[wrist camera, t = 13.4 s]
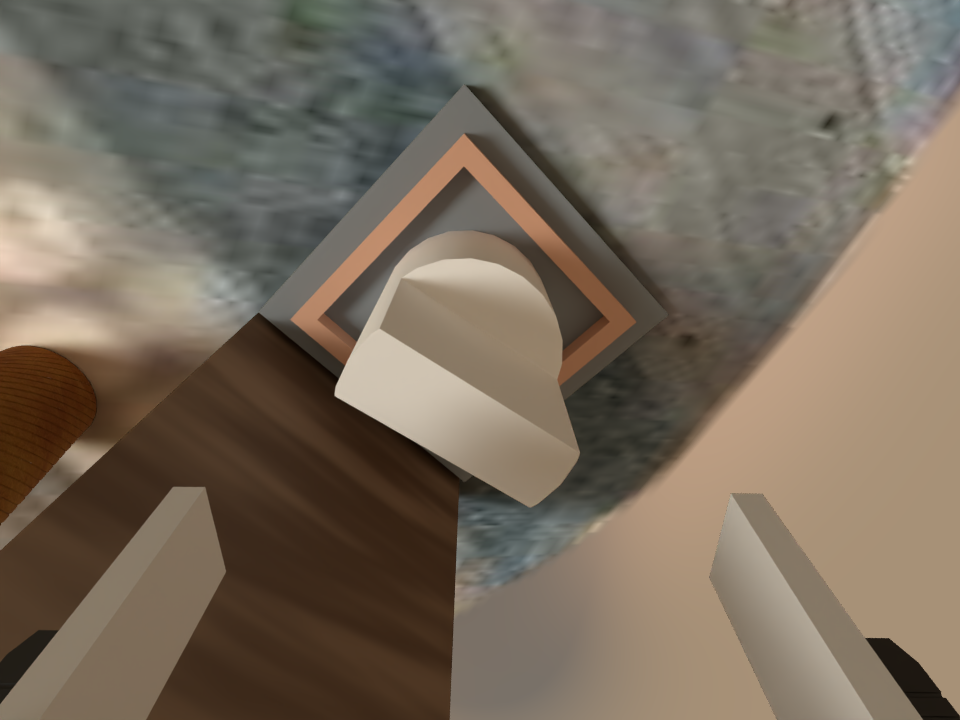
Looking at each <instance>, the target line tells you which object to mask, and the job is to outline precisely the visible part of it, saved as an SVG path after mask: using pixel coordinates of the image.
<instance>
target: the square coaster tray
mask: <svg viewBox="0 0 960 720" xmlns="http://www.w3.org/2000/svg"><path fill="white" fill-rule="evenodd" d="M468 230H473V231H477V232H482V233H486V234H491V235H495V236H497V237H498V238H500V239H502V240H504V241H506V242H508V243H510V244H512V245H514V246H515V247H516V248H517V249H518V250H519V251H520V252H521V253H522V254H523V255H524V256H525V257H527V258H528V259H529V260H530V262H531V263H532V265H533V267H534V268H535V270H536V272H537V273H538V275H539V276H540V278H541V280H542V283H543V285H544V288H545V290H546V293H547V295H548V298H549V300H550V303H551V305H552V308H553V310H554V312H555V315H556V318H557V322H558V325H559V329H560V333H561V336H562V340H563V343H562V366H561V369H560V372H559V375H558V379H557V381H558V384H559V387H560V390H561V393H562V397H563V400H566V399H567V398H568V397H569V396H571V395H572V394H573V393H574V392H575V391H577V390H578V389H579V388H580V387H582V386H583V385H584V384H585V383H586V382H588V381H589V380H590V379H591V378H593V377H594V376H595V375H596V374H597V373H599V372H600V371H601V370H602V369H603V368H605V367H606V366H607V365H608V364H610V363H611V362H612V361H613V360H614V359H616V358H617V357H618V356H619V355H621V354H622V353H623V352H624V351H625V350H627V349H628V348H629V347H630V346H632V345H633V344H634V343H635V342H636V341H638V340H639V339H640V338H641V337H643V336H644V335H645V334H646V333H647V332H649V331H650V330H651V329H652V328H654V327H655V326H656V325H657V324H658V323H660V322H661V321H662V320H663V319H665V318H666V317H667V316H668V315H669V314H668V313H667V312H666V311H665V310H664V309H663V308H662V307H661V305H660V304H659V303H658V302H657V301H656V300H655V299H654V298H653V296H652V295H651V294H650V293H649V292H648V291H647V290H646V289H645V287H644V286H643V285H642V284H641V283H640V282H639V281H638V279H637V278H636V277H635V276H634V275H633V274H632V273H631V272H630V270H629V269H628V268H627V267H626V266H625V265H624V264H623V263H622V261H621V260H620V259H619V258H618V257H617V256H616V255H615V254H614V252H613V251H612V250H611V249H610V248H609V247H608V246H607V244H606V243H605V242H604V241H603V240H602V239H601V238H600V237H599V235H598V234H597V233H596V232H595V231H594V230H593V229H592V228H591V226H590V225H589V224H588V223H587V222H586V221H585V220H584V219H583V217H582V216H581V215H580V214H579V213H578V212H577V211H576V209H575V208H574V207H573V206H572V205H571V204H570V203H569V202H568V200H567V199H566V198H565V197H564V196H563V195H562V194H561V193H560V191H559V190H558V189H557V188H556V187H555V186H554V185H553V184H552V182H551V181H550V180H549V179H548V178H547V177H546V176H545V174H544V173H543V172H542V171H541V170H540V169H539V168H538V167H537V165H536V164H535V163H534V162H533V161H532V160H531V159H530V158H529V156H528V155H527V154H526V153H525V152H524V151H523V150H522V149H521V147H520V146H519V145H518V144H517V143H516V142H515V141H514V140H513V138H512V137H511V136H510V135H509V134H508V133H507V132H506V130H505V129H504V128H503V127H502V126H501V125H500V124H499V123H498V121H497V120H496V119H495V118H494V117H493V116H492V115H491V114H490V112H489V111H488V110H487V109H486V108H485V107H484V106H483V105H482V103H481V102H480V101H479V100H478V99H477V98H476V97H475V95H474V94H473V93H472V92H471V91H470V90H469V89H468V88H467V86H466V85H465V84H464V85H463V86H462V87H461V88H460V90H459V91H458V92H457V93H456V94H455V95H454V96H453V97H452V98H451V100H450V101H449V102H448V103H447V104H446V105H445V106H444V107H443V108H442V109H441V111H440V112H439V113H438V114H437V115H436V116H435V117H434V118H433V119H432V120H431V122H430V123H429V124H428V125H427V126H426V127H425V128H424V129H423V130H422V132H421V133H420V134H419V135H418V136H417V137H416V138H415V139H414V140H413V141H412V143H411V144H410V145H409V146H408V147H407V148H406V149H405V150H404V151H403V152H402V154H401V155H400V156H399V157H398V158H397V159H396V160H395V161H394V162H393V164H392V165H391V166H390V167H389V168H388V169H387V170H386V171H385V172H384V173H383V175H382V176H381V177H380V178H379V179H378V180H377V181H376V182H375V183H374V185H373V186H372V187H371V188H370V189H369V190H368V191H367V192H366V193H365V194H364V196H363V197H362V198H361V199H360V200H359V201H358V202H357V203H356V204H355V205H354V207H353V208H352V209H351V210H350V211H349V212H348V213H347V214H346V215H345V217H344V218H343V219H342V220H341V221H340V222H339V223H338V224H337V225H336V226H335V228H334V229H333V230H332V231H331V232H330V233H329V234H328V235H327V236H326V238H325V239H324V240H323V241H322V242H321V243H320V244H319V245H318V246H317V247H316V249H315V250H314V251H313V252H312V253H311V254H310V255H309V256H308V257H307V258H306V260H305V261H304V262H303V263H302V264H301V265H300V266H299V267H298V268H297V270H296V271H295V272H294V273H293V274H292V275H291V276H290V277H289V278H288V279H287V281H286V282H285V283H284V284H283V285H282V286H281V287H280V288H279V289H278V290H277V292H276V293H275V294H274V295H273V296H272V297H271V298H270V299H269V300H268V302H267V303H266V304H265V305H264V306H263V307H262V308H261V309H260V310H259V311H258V312H259V313H260V314H261V315H263V316H264V317H265V318H266V319H267V320H269V321H270V322H271V323H272V324H273V325H275V326H276V327H277V328H278V329H279V330H281V331H282V332H283V333H284V334H286V335H287V336H288V337H289V338H290V339H292V340H293V341H294V342H295V343H296V344H298V345H299V346H300V347H301V348H302V349H304V350H305V351H306V352H307V353H309V354H310V355H311V356H312V357H313V358H315V359H316V360H317V361H318V362H319V363H321V364H322V365H323V366H324V367H325V368H327V369H328V370H329V371H330V372H332V373H333V374H334V375H335V376H336V377H338V378H340V376H341V374H342V372H343V370H344V367H345V365H346V363H347V361H348V359H349V357H350V355H351V353H352V351H353V349H354V347H355V345H356V343H357V341H358V339H359V337H360V335H361V333H362V331H363V329H364V327H365V325H366V323H367V321H368V319H369V317H370V315H371V313H372V311H373V310H374V308H375V306H376V304H377V302H378V300H379V298H380V296H381V294H382V292H383V290H384V288H385V286H386V284H387V282H388V280H389V278H390V276H391V274H392V272H393V270H394V268H395V266H396V265H397V264H398V263H399V262H400V261H401V259H402V258H403V257H404V256H405V255H406V254H407V252H408V251H409V250H411V249H412V248H414V247H415V246H417V245H418V244H420V243H421V242H423V241H424V240H426V239H427V238H430V237H433V236H436V235H439V234H443V233H446V232H449V231H468ZM420 446H421V445H420ZM421 447H422V448H424V449H425V450H426V451H427V452H428V453H430V454H431V455H432V456H433V457H434V458H436V459H437V460H438V461H439V462H441V463H442V464H443V465H444V466H445V467H447V468H448V469H449V470H450V471H451V472H453V473H454V474H455V475H456V476H457V477H459V478H460V479H461V480H462V481H464V482H466V481H467V480H468V479H469V478H470V477H472V476H473V475H472V474H470V473H468V472H467V471H465V470H463V469H461V468H460V467H458V466H456V465H454V464H453V463H451V462H449V461H447V460H446V459H444V458H442V457H440V456H439V455H437V454H435V453H433V452H432V451H430V450H428V449H426V448H425V447H423V446H421Z"/></svg>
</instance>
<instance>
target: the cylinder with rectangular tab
mask: <svg viewBox="0 0 960 720" xmlns="http://www.w3.org/2000/svg"><path fill="white" fill-rule="evenodd" d="M562 343H563V340H562V336H561V333H560V329H559V325H558V322H557V318H556V315H555V312H554V310H553V308H552V305H551V303H550V300H549V298H548V295H547V293H546V290H545V288H544V285H543V283H542V280H541V278H540V276H539V275H538V273H537V272H536V270H535V268H534V267H533V265H532V263H531V262H530V260H529V259H528V258H527V257H525V256H524V255H523V254H522V253H521V252H520V251H519V250H518V249H517V248H516V247H515V246H514V245H512V244H510V243H508V242H506V241H504V240H502V239H500V238H498V237H497V236H495V235H491V234H486V233H482V232H477V231H473V230H468V231H449V232H446V233H443V234H439V235H436V236H433V237H430V238H427V239H426V240H424V241H423V242H421V243H420V244H418V245H417V246H415V247H414V248H412V249H411V250H409V251H408V252H407V254H406V255H405V256H404V257H403V258H402V259H401V261H400V262H399V263H398V264H397V265H396V266H395V268H394V270H393V272H392V274H391V276H390V278H389V280H388V282H387V284H386V286H385V288H384V290H383V292H382V294H381V296H380V298H379V300H378V302H377V304H376V306H375V308H374V310H373V311H372V313H371V315H370V317H369V319H368V321H367V323H366V325H365V327H364V329H363V331H362V333H361V335H360V337H359V339H358V341H357V343H356V345H355V347H354V349H353V351H352V353H351V355H350V357H349V359H348V361H347V363H346V365H345V367H344V370H343V372H342V374H341V376H340V378H339V380H338V383H337V385H336V387H335V395H334V396H336V397H337V398H339V399H341V400H343V401H344V402H346V403H348V404H350V405H351V406H353V407H355V408H357V409H358V410H360V411H362V412H364V413H365V414H367V415H369V416H371V417H372V418H374V419H376V420H378V421H379V422H381V423H383V424H385V425H386V426H388V427H390V428H392V429H393V430H395V431H397V432H399V433H400V434H402V435H404V436H406V437H407V438H409V439H411V440H413V441H414V442H416V443H418V444H419V445H421V446H423V447H425V448H426V449H428V450H430V451H432V452H433V453H435V454H437V455H439V456H440V457H442V458H444V459H446V460H447V461H449V462H451V463H453V464H454V465H456V466H458V467H460V468H461V469H463V470H465V471H467V472H468V473H470V474H472V475H474V476H475V477H477V478H479V479H481V480H482V481H484V482H486V483H488V484H489V485H491V486H493V487H495V488H496V489H498V490H500V491H502V492H503V493H505V494H507V495H509V496H510V497H512V498H514V499H516V500H517V501H519V502H521V503H523V504H524V505H526V506H528V507H532V506H534V505H536V504H538V503H540V502H541V501H542V500H543V499H544V498H545V497H547V496H548V495H549V494H550V493H551V492H553V491H554V490H555V489H556V488H557V487H558V486H560V485H561V483H562V482H563V481H564V479H565V478H566V476H567V475H568V473H569V472H570V471H571V469H572V468H573V466H574V465H575V464H576V462H577V460H578V458H579V455H580V451H579V448H578V445H577V441H576V438H575V435H574V432H573V429H572V425H571V422H570V419H569V416H568V413H567V409H566V406H565V403H564V400H563V397H562V393H561V390H560V387H559V384H558V381H557V379H558V375H559V372H560V369H561V366H562Z"/></svg>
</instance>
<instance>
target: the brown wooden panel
mask: <svg viewBox="0 0 960 720" xmlns="http://www.w3.org/2000/svg"><path fill="white" fill-rule="evenodd" d="M338 380H339V378H338V377H336V376H335V375H334V374H333V373H332V372H330V371H329V370H328V369H327V368H325V367H324V366H323V365H322V364H321V363H319V362H318V361H317V360H316V359H315V358H313V357H312V356H311V355H310V354H309V353H307V352H306V351H305V350H304V349H302V348H301V347H300V346H299V345H298V344H296V343H295V342H294V341H293V340H292V339H290V338H289V337H288V336H287V335H286V334H284V333H283V332H282V331H281V330H279V329H278V328H277V327H276V326H275V325H273V324H272V323H271V322H270V321H269V320H267V319H266V318H265V317H264V316H263V315H261V314H260V313H257V314H256V315H255V316H254V317H253V318H252V319H251V320H250V321H249V322H248V323H247V324H246V325H244V326H243V327H242V328H241V329H240V330H239V331H238V332H237V333H236V334H235V335H234V336H233V337H231V338H230V339H229V340H228V341H227V342H226V343H225V344H224V345H223V346H222V347H221V348H220V349H218V350H217V351H216V352H215V353H214V354H213V355H212V356H211V357H210V358H209V359H208V360H207V361H205V362H204V363H203V364H202V365H201V366H200V367H199V368H198V369H197V370H196V371H195V372H193V373H192V374H191V375H190V376H189V377H188V378H187V379H186V380H185V381H184V382H183V383H182V384H180V385H179V386H178V387H177V388H176V389H175V390H174V391H173V392H172V393H171V394H170V395H169V396H167V397H166V398H165V399H164V400H163V401H162V402H161V403H160V404H159V405H158V406H157V407H156V408H154V409H153V410H152V411H151V412H150V413H149V414H148V415H147V416H146V417H145V418H144V419H143V420H141V421H140V422H139V423H138V424H137V425H136V426H135V427H134V428H133V429H132V430H131V431H130V432H128V433H127V434H126V435H125V436H124V437H123V438H122V439H121V440H120V441H119V442H118V443H117V444H115V445H114V446H113V447H112V448H111V449H110V450H109V451H108V452H107V453H106V454H105V455H104V456H102V457H101V458H100V459H99V460H98V461H97V462H96V463H95V464H94V465H93V466H92V467H91V468H89V469H88V470H87V471H86V472H85V473H84V474H83V475H82V476H81V477H80V478H79V479H78V480H76V481H75V482H74V483H73V484H72V485H71V486H70V487H69V488H68V489H67V490H66V491H65V492H63V493H62V494H61V495H60V496H59V497H58V498H57V499H56V500H55V501H54V502H53V503H52V504H50V505H49V506H48V507H47V508H46V509H45V510H44V511H43V512H42V513H41V514H40V515H39V516H37V517H36V518H35V519H34V520H33V521H32V522H31V523H30V524H29V525H28V526H27V527H25V528H24V529H23V530H22V531H21V532H20V533H19V534H18V535H17V536H16V537H15V538H14V539H12V540H11V541H10V542H9V543H8V544H7V545H6V546H5V547H4V548H3V549H2V550H1V551H0V662H1V661H2V659H3V658H4V657H5V656H6V655H7V654H8V653H9V652H11V651H12V650H13V649H14V648H16V647H17V646H18V645H20V644H21V643H22V642H24V641H25V640H26V639H27V638H29V637H30V636H31V635H33V634H34V633H35V632H37V631H38V630H60V628H61V627H62V626H63V625H64V623H65V622H66V621H67V620H68V618H69V617H70V616H71V615H72V613H73V612H74V611H75V610H76V608H77V607H78V606H79V605H80V603H81V602H82V601H83V600H84V598H85V597H86V596H87V595H88V593H89V592H90V591H91V590H92V588H93V587H94V586H95V585H96V583H97V582H98V581H99V579H100V578H101V577H102V576H103V574H104V573H105V572H106V571H107V569H108V568H109V567H110V566H111V564H112V563H113V562H114V561H115V559H116V558H117V557H118V556H119V554H120V553H121V552H122V551H123V549H124V548H125V547H126V546H127V544H128V543H129V542H130V541H131V539H132V538H133V537H134V536H135V534H136V533H137V532H138V531H139V529H140V528H141V527H142V525H143V524H144V523H145V522H146V520H147V519H148V518H149V517H150V515H151V514H152V513H153V512H154V510H155V509H156V508H157V507H158V505H159V504H160V503H161V502H162V500H163V499H164V498H165V497H166V495H167V494H168V493H169V492H170V490H171V489H172V488H173V487H205V488H206V492H207V496H208V501H209V505H210V509H211V513H212V517H213V521H214V525H215V529H216V533H217V537H218V541H219V545H220V549H221V553H222V557H223V561H224V565H225V569H226V573H225V575H224V577H223V578H222V580H221V582H220V584H219V586H218V588H217V590H216V591H215V593H214V595H213V597H212V599H211V601H210V602H209V604H208V606H207V608H206V610H205V612H204V614H203V615H202V617H201V619H200V621H199V623H198V625H197V626H196V628H195V630H194V632H193V634H192V636H191V638H190V639H189V641H188V643H187V645H186V647H185V649H184V650H183V652H182V654H181V656H180V658H179V660H178V662H177V663H176V665H175V667H174V669H173V671H172V673H171V674H170V676H169V678H168V680H167V682H166V684H165V686H164V687H163V689H162V691H161V693H160V695H159V697H158V698H157V700H156V702H155V704H154V706H153V708H152V710H151V711H150V713H149V715H148V717H147V719H146V720H449V719H450V696H451V670H452V669H451V668H452V646H453V622H454V598H455V573H456V549H457V524H458V500H459V477H457V476H456V475H455V474H454V473H453V472H451V471H450V470H449V469H448V468H447V467H445V466H444V465H443V464H442V463H441V462H439V461H438V460H437V459H436V458H434V457H433V456H432V455H431V454H430V453H428V452H427V451H426V450H425V449H424V448H422V447H421V446H420V445H419V444H418V443H416V442H414V441H413V440H411V439H409V438H407V437H406V436H404V435H402V434H400V433H399V432H397V431H395V430H393V429H392V428H390V427H388V426H386V425H385V424H383V423H381V422H379V421H378V420H376V419H374V418H372V417H371V416H369V415H367V414H365V413H364V412H362V411H360V410H358V409H357V408H355V407H353V406H351V405H350V404H348V403H346V402H344V401H343V400H341V399H339V398H337V397H336V396H334V395H335V387H336V385H337V383H338Z"/></svg>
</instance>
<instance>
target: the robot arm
mask: <svg viewBox="0 0 960 720" xmlns="http://www.w3.org/2000/svg"><path fill="white" fill-rule="evenodd" d="M225 573H226V569H225V565H224V561H223V557H222V553H221V549H220V545H219V541H218V537H217V533H216V529H215V525H214V521H213V517H212V513H211V509H210V505H209V501H208V496H207V492H206V488H205V487H173V488H172V489H171V490H170V492H169V493H168V494H167V495H166V497H165V498H164V499H163V500H162V502H161V503H160V504H159V505H158V507H157V508H156V509H155V510H154V512H153V513H152V514H151V515H150V517H149V518H148V519H147V520H146V522H145V523H144V524H143V525H142V527H141V528H140V529H139V531H138V532H137V533H136V534H135V536H134V537H133V538H132V539H131V541H130V542H129V543H128V544H127V546H126V547H125V548H124V549H123V551H122V552H121V553H120V554H119V556H118V557H117V558H116V559H115V561H114V562H113V563H112V564H111V566H110V567H109V568H108V569H107V571H106V572H105V573H104V574H103V576H102V577H101V578H100V579H99V581H98V582H97V583H96V585H95V586H94V587H93V588H92V590H91V591H90V592H89V593H88V595H87V596H86V597H85V598H84V600H83V601H82V602H81V603H80V605H79V606H78V607H77V608H76V610H75V611H74V612H73V613H72V615H71V616H70V617H69V618H68V620H67V621H66V622H65V623H64V625H63V626H62V627H61V628H60V630H38V631H37V632H35V633H34V634H33V635H31V636H30V637H29V638H27V639H26V640H25V641H24V642H22V643H21V644H20V645H18V646H17V647H16V648H14V649H13V650H12V651H11V652H9V653H8V654H7V655H6V656H5V657H4V658H3V659H2V661H1V662H0V720H146V719H147V717H148V715H149V713H150V711H151V710H152V708H153V706H154V704H155V702H156V700H157V698H158V697H159V695H160V693H161V691H162V689H163V687H164V686H165V684H166V682H167V680H168V678H169V676H170V674H171V673H172V671H173V669H174V667H175V665H176V663H177V662H178V660H179V658H180V656H181V654H182V652H183V650H184V649H185V647H186V645H187V643H188V641H189V639H190V638H191V636H192V634H193V632H194V630H195V628H196V626H197V625H198V623H199V621H200V619H201V617H202V615H203V614H204V612H205V610H206V608H207V606H208V604H209V602H210V601H211V599H212V597H213V595H214V593H215V591H216V590H217V588H218V586H219V584H220V582H221V580H222V578H223V577H224V575H225ZM709 578H710V580H711V582H712V584H713V586H714V588H715V591H716V593H717V594H718V597H719V599H720V601H721V603H722V605H723V607H724V609H725V612H726V614H727V616H728V618H729V620H730V622H731V624H732V626H733V628H734V630H735V632H736V635H737V637H738V639H739V641H740V643H741V645H742V647H743V649H744V652H745V653H746V656H747V658H748V660H749V662H750V664H751V666H752V668H753V671H754V673H755V674H756V677H757V679H758V681H759V683H760V685H761V687H762V689H763V692H764V694H765V696H766V698H767V700H768V702H769V704H770V706H771V708H772V710H773V713H774V715H775V716H776V719H777V720H960V716H959V714H958V713H957V712H956V711H955V709H954V708H953V707H952V705H951V704H950V703H949V702H948V700H947V699H946V698H943V697H942V696H941V691H940V690H939V689H938V687H937V686H936V685H935V683H934V682H933V681H932V680H931V678H930V677H929V676H928V674H927V673H926V672H925V671H924V669H923V668H922V667H921V665H920V664H919V663H918V662H917V661H916V660H914V659H913V658H912V657H911V656H910V655H908V654H907V653H906V652H905V651H904V650H902V649H901V648H900V647H899V646H898V645H896V644H895V643H894V642H893V641H892V640H890V639H889V638H865V637H864V636H863V635H862V633H861V632H860V630H859V629H858V628H857V626H856V625H855V623H854V622H853V621H852V619H851V618H850V616H849V615H848V614H847V612H846V611H845V609H844V608H843V607H842V605H841V604H840V603H839V601H838V599H837V598H836V597H835V595H834V594H833V592H832V591H831V590H830V588H829V587H828V585H827V584H826V583H825V581H824V580H823V578H822V577H821V576H820V574H819V573H818V572H817V570H816V569H815V567H814V566H813V564H812V563H811V562H810V560H809V559H808V557H807V556H806V554H805V553H804V552H803V551H802V549H801V547H800V546H799V545H798V543H797V542H796V540H795V539H794V537H793V536H792V535H791V533H790V532H789V530H788V529H787V528H786V526H785V525H784V523H783V522H782V521H781V519H780V518H779V516H778V515H777V514H776V512H775V511H774V509H773V508H772V507H771V505H770V504H769V502H768V501H767V499H766V498H765V497H764V495H763V494H735V493H732V494H731V495H730V499H729V503H728V506H727V510H726V514H725V518H724V522H723V526H722V530H721V534H720V538H719V542H718V545H717V549H716V553H715V557H714V561H713V565H712V569H711V573H710V576H709Z"/></svg>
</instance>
